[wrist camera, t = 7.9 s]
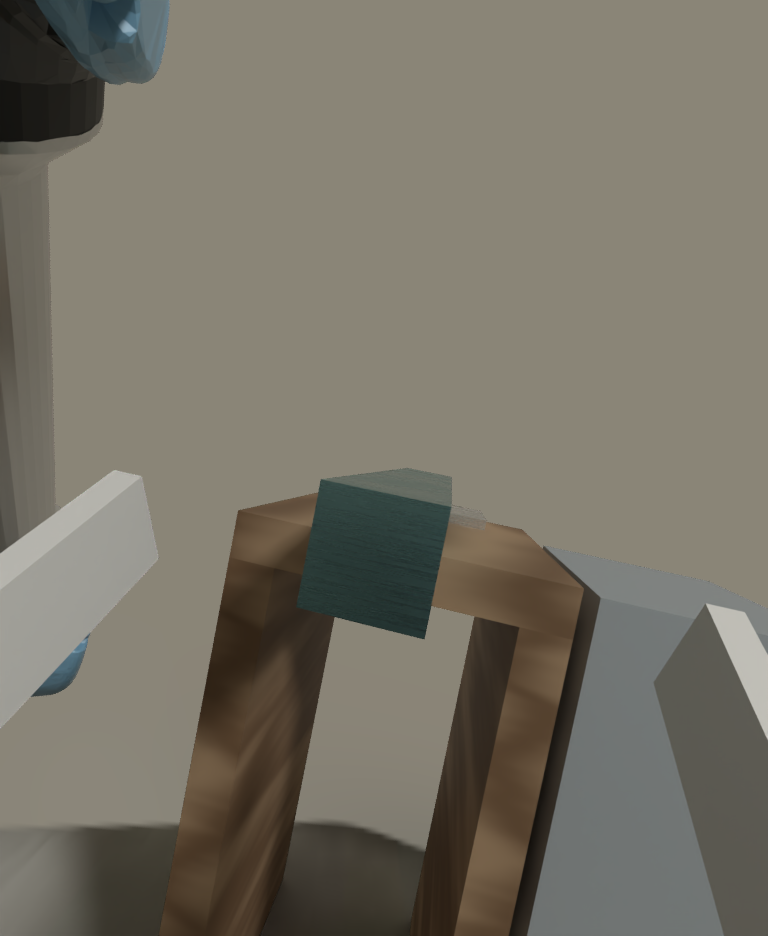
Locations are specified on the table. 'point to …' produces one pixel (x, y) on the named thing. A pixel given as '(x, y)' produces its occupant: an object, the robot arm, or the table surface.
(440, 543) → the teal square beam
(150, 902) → the table surface
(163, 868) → the table surface
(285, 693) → the riser
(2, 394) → the robot arm
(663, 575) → the pedestal
